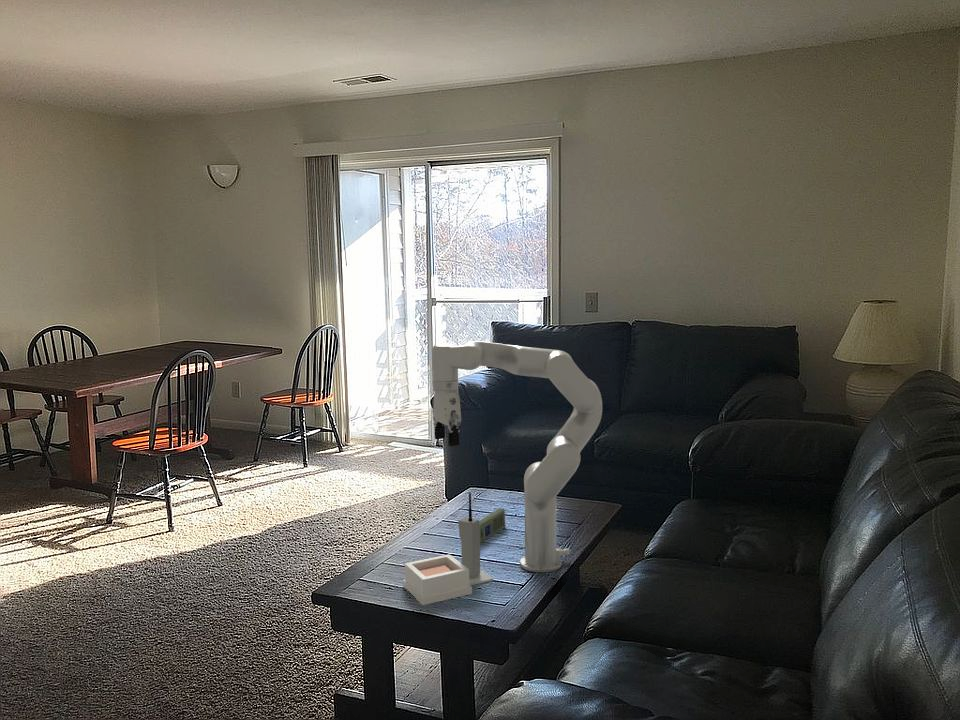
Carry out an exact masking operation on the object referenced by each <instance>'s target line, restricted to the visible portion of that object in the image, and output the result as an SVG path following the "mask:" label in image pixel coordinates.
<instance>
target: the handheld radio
mask: <svg viewBox="0 0 960 720" xmlns="http://www.w3.org/2000/svg"><path fill="white" fill-rule="evenodd" d="M479 526H480V545H481V544H482V543H483V541H484V542H485V541H486V540H488V539H490V538H491V537H492V536H494V535H495V534H497V533H499V531H501V530H502V529H504V528H505V527H506V511H505V508H504V507H500V508H497V509H495V510H494V511H492V512H491V513H490V514H489V513H488V515H486V516H485V517H483V518H482V519H479Z"/></svg>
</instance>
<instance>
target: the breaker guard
mask: <svg viewBox="0 0 960 720" xmlns="http://www.w3.org/2000/svg"><path fill="white" fill-rule="evenodd" d="M442 565H445V566H446V567H447V568H449V569H450V570H451V571H449V572H445V573H440V574H436V575H431V576H424V575H423V574H422V573H421V572H420V571H419V570H424V569H428V568H433V567H438V566H442ZM402 587H403V588H404V589H405V590H406V589H407V590H406V591H407V592H408V591H409V592H410V593H411V594H412V595H413V596H414V597H415V598H416V601H417V602H418V603H420V605H422V606H426V605H429V604H434V603H438V602H442V601H447V600H451V598H452V599H454V598H455V599H456V598H459V597H464V596H467V595H472V594H473V587H472V585H471V586H470V585H469V569H468V568H466V567H465V566H464V565H463V564H462V562H460V561H459V560H457V559H456V557H454V556H452V555H451V554H450V553H449V554H445V555H444V554H443V555H440V556H439V555H438V556H434V557H429V558H425V559H420V560H419V559H418V560H415V561H414V560H413V561H410V562H406V563H404V579H403V580H402ZM409 592H408V593H409ZM410 593H409V594H410ZM411 594H410V595H411ZM412 595H411V596H412ZM413 596H412V597H413ZM414 597H413V598H414ZM415 598H414V599H415Z"/></svg>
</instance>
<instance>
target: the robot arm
mask: <svg viewBox="0 0 960 720" xmlns="http://www.w3.org/2000/svg"><path fill="white" fill-rule="evenodd" d="M431 355H432V356H431V360H432V361H431V362H432V363H431V364H432V365H431V366H432V391H433V409H432V414H433V426H434V439H435V440H437V441H438V440H443V439H445V438H446V426H447V428H448V430H449V432H448V433H447V434H448V439H447V440H448V446H449V447H456V446H459V445H460V429H461V423H462V411H461V401H460V394H459V370H465V371H466V370H467V371H473V370H476V369H478V368H479V367H489V368H497V369H499V370H504V371H506V372H508V373H510V374H512V375H516V376H524V377H535V378H543V379H549V381H550V382H551V383H552V384H553V385H554V386H555V388H556V389H557V390H558V391H559V392H560V393H561V394H562V396H564V398H565V399H566V400H567V401H568V402H569V404H571V405H572V407H573V410H572V412H571V413H570V417H568V419H567V420H566V421H565V423H564V425H562V427H561V428H560V429H559V431H558V433H557V434H555V436H554V437H553V438H552V439H551V440H550V442H549V443H548V445H547V448H546V455H545V456H544V457H543V459H542V460H541V461H536V462H533V463H532V464H530V465H529V466H528V467H527V468H526V469H525V473H524V477H523V485H524V487H523V488H524V490H523V491H524V556H523V557H521V559H520V560H519V566H520V567H521V568H522V569H524V570H526V571H529V572H533V573H551V572H554V571H557V570H559V569H560V568H561V567H562V560H561V558H562V557H563V556H568V555H570V554H571V550H570V548H563V549H562V547H557V495H558V494H559V493H561V491H562V490H563V488H564V487H565V486H566V484H567V483H568V482H569V481H570V479H572V477H573V475H574V474H575V473H576V472H577V469H578V468H579V466H580V463H581V452H582V450H583V449H584V448H585V446H586V445H587V443H588V442H589V441H590V439H591V438H592V437H593V435H594V434H595V432H596V431H597V429H598V427H599V425H600V423H601V419H602V415H603V399H602V394H601V391H600V389H599V387H598V385H597V383H595V381H593V380H592V379H590V378H588V377H587V376H586V375H585V373H583V371H582V370H581V369H580V367H578V365H577V364H576V362H574V360H573V358H572V356H571V355H570V354H569V353H568V352H566V351H564V350H560V349H549V348H540V347H531V346H530V347H529V346H521V345H513V344H503V343H499V342H498V343H497V342H489V341H479V340H469V341H467V342H465V343H463V344H462V345H456V344H453V343H437V344H435V345H433V346H432V349H431Z"/></svg>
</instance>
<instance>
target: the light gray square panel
mask: <svg viewBox="0 0 960 720" xmlns="http://www.w3.org/2000/svg"><path fill="white" fill-rule="evenodd" d="M492 581H494V578H493V576H491V575H489V574H488V573H487V572H485V571H484V570H482V569H481V568H480V575H478V576H476V577H475V578H473V579H472V578H469V585H470V586H471V587H472V586H476V585H479V584H484V583H488V582H492Z"/></svg>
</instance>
